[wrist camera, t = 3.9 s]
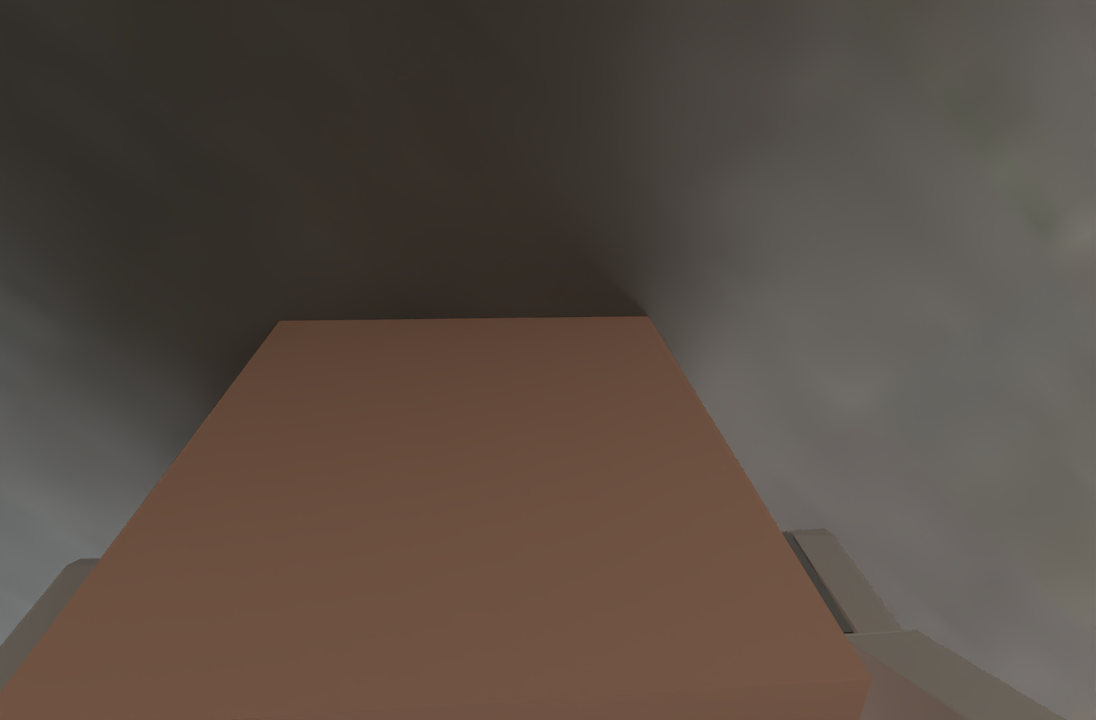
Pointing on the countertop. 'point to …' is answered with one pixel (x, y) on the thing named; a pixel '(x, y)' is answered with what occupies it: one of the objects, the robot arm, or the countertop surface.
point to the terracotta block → (449, 547)
